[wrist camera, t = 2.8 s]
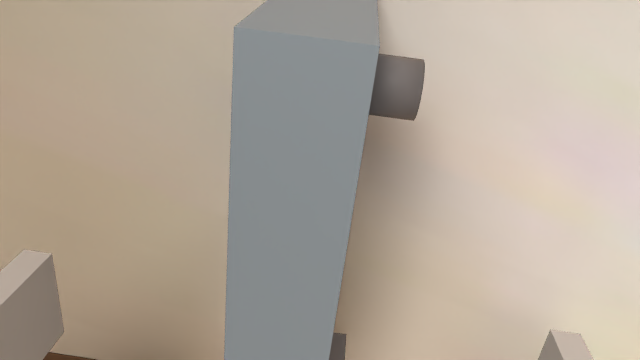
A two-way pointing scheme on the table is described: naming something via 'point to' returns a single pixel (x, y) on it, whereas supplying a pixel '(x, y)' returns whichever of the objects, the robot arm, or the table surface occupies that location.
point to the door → (301, 167)
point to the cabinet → (62, 357)
